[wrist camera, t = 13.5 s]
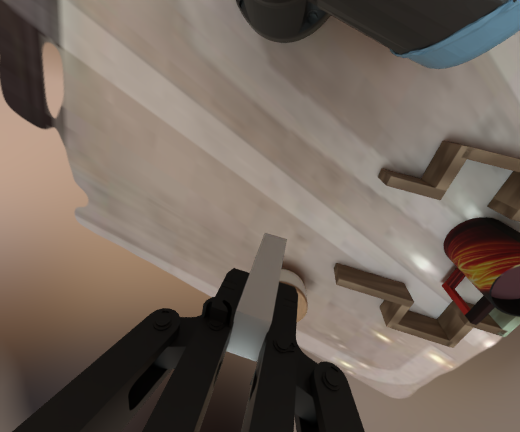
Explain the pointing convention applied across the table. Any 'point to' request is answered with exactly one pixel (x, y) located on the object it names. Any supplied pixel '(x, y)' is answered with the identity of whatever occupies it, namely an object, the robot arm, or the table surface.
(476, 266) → the mug
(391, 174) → the trap lane
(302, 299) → the lidded jar
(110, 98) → the table surface
